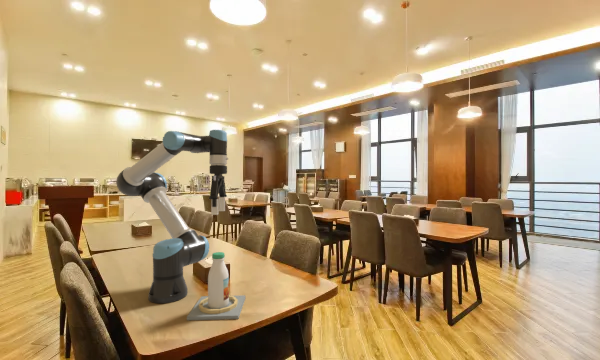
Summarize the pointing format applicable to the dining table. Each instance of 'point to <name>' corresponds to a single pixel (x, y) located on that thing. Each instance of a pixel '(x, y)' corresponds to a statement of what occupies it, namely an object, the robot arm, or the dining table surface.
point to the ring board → (207, 313)
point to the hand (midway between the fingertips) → (218, 212)
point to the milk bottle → (218, 282)
